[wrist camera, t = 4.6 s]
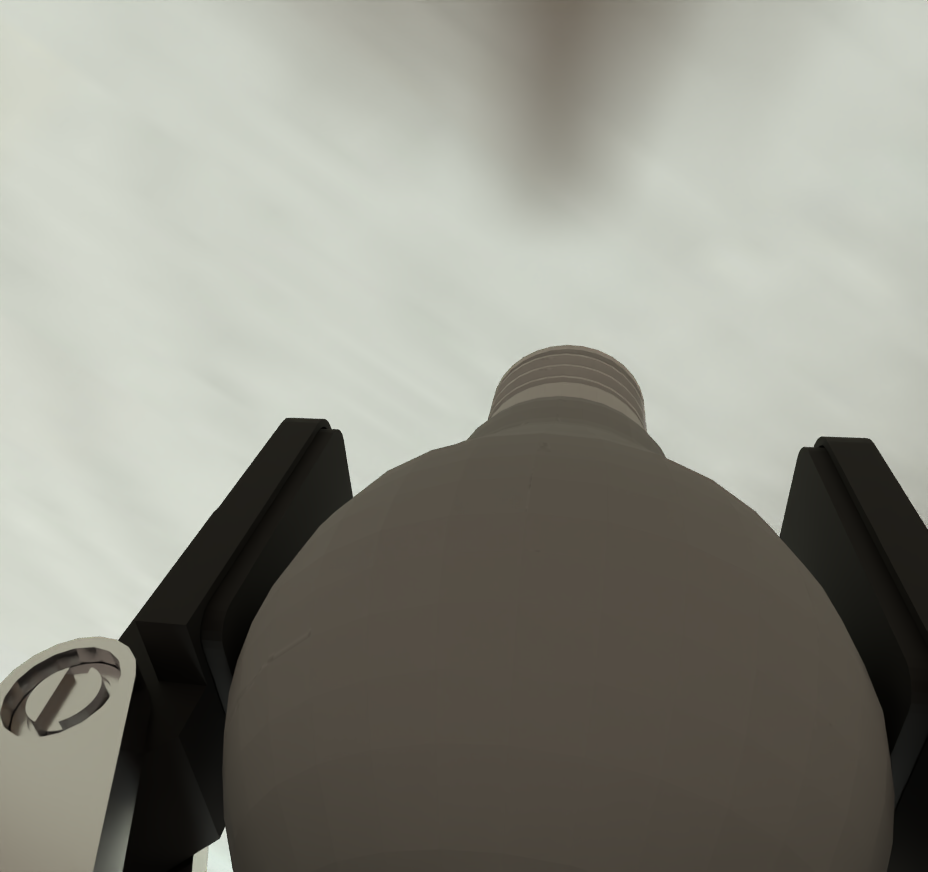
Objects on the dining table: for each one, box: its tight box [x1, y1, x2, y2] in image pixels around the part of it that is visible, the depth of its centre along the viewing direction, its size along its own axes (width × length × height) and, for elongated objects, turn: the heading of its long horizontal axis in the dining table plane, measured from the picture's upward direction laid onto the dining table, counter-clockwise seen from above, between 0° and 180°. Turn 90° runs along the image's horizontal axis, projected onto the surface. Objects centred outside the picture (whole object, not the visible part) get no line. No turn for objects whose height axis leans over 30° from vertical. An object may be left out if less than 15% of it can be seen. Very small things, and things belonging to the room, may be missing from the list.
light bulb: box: [222, 345, 895, 872], centre depth 9 cm, size 6×6×10 cm
